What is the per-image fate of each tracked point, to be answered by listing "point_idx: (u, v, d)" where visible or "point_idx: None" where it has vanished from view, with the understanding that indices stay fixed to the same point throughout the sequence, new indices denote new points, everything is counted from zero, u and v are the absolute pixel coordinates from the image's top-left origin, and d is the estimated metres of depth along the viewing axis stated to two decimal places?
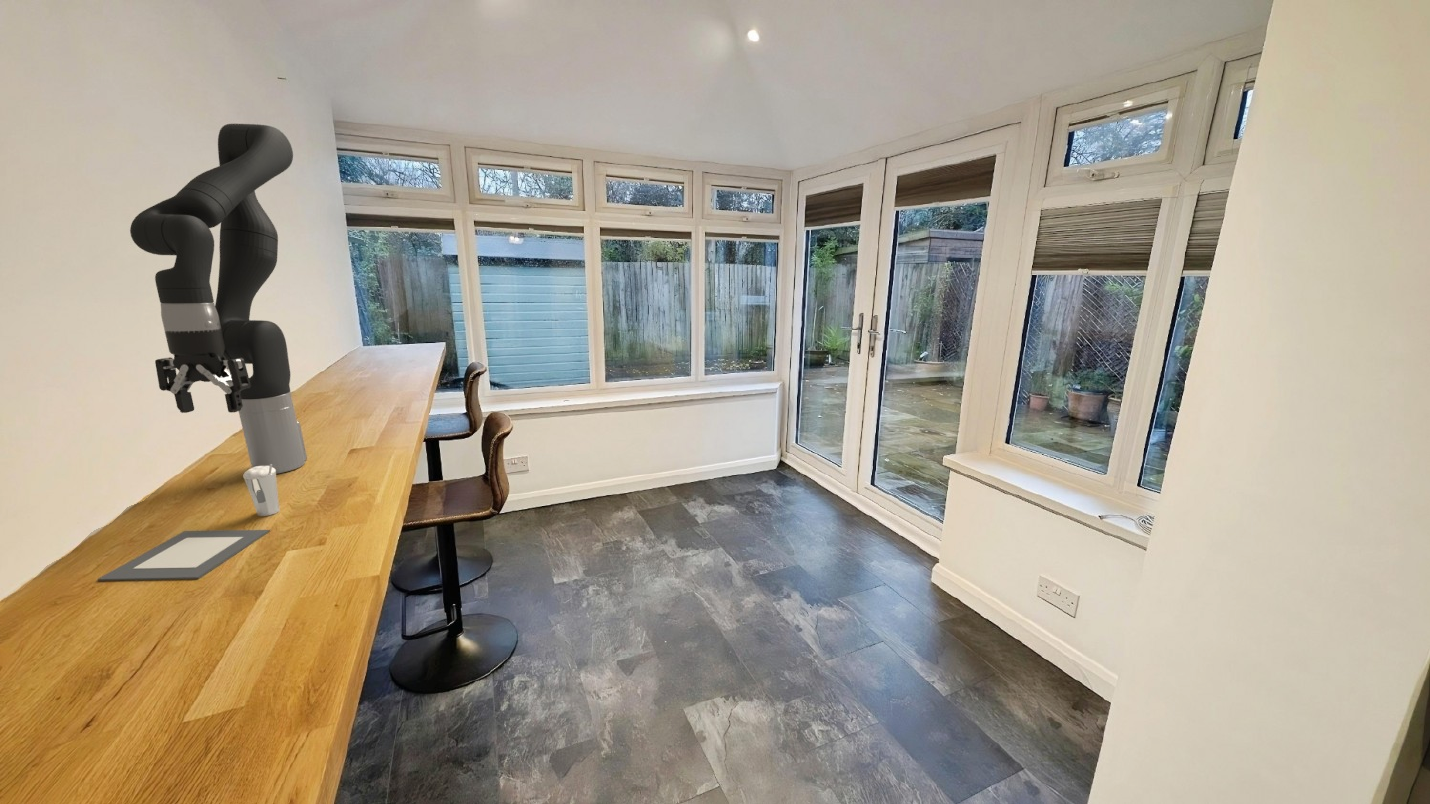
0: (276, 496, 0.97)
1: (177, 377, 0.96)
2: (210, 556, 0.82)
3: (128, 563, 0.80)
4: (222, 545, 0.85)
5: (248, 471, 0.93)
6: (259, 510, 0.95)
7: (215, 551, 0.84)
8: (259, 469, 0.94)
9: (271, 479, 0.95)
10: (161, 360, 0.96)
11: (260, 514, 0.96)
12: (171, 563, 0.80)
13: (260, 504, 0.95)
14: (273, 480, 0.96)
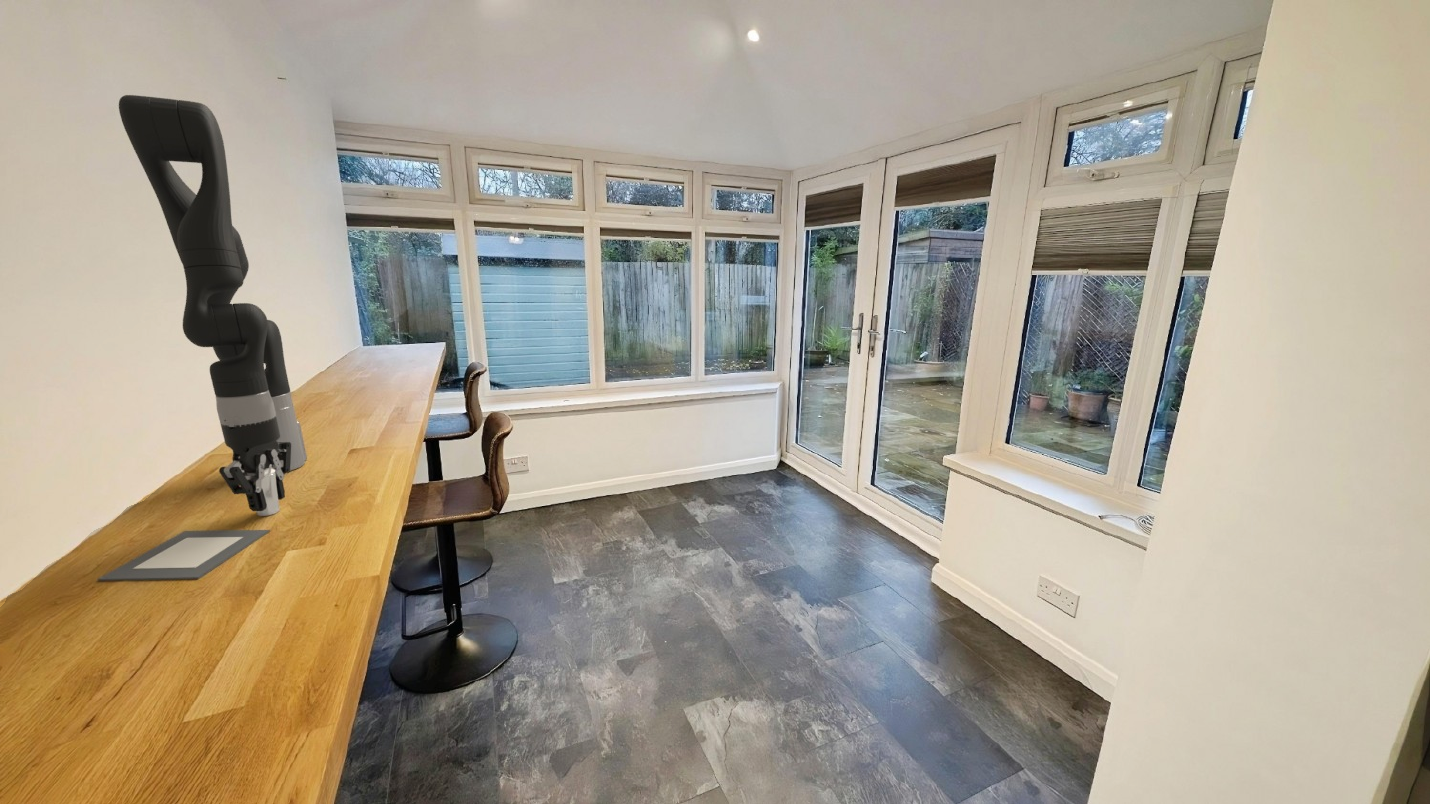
0: (276, 496, 0.97)
1: (260, 472, 0.93)
2: (210, 556, 0.82)
3: (128, 563, 0.80)
4: (222, 545, 0.85)
5: None
6: None
7: (215, 551, 0.84)
8: None
9: (271, 479, 0.95)
10: (236, 467, 0.88)
11: (260, 514, 0.96)
12: (171, 563, 0.80)
13: None
14: (273, 480, 0.95)
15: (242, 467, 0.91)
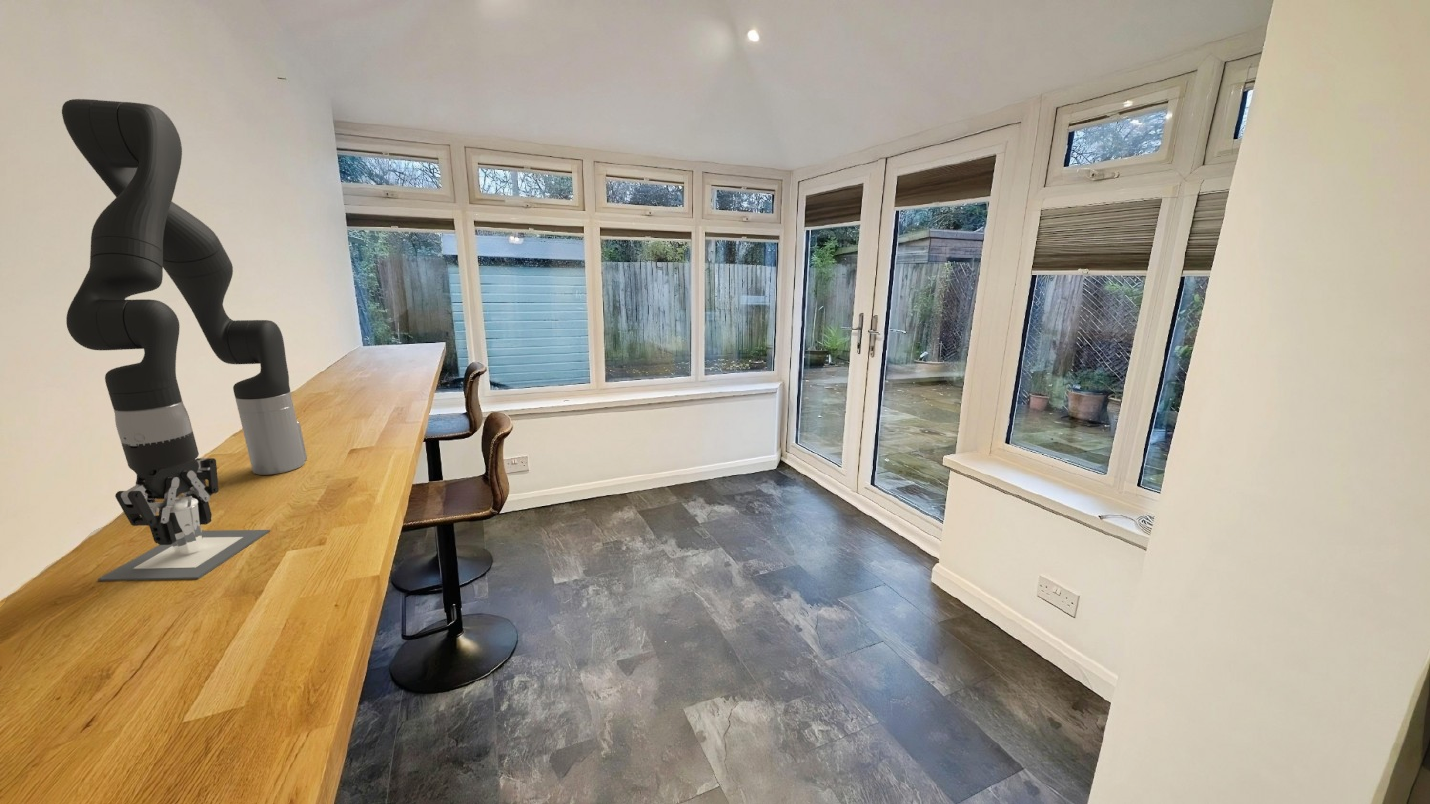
0: (199, 532, 0.83)
1: (169, 498, 0.78)
2: (210, 556, 0.82)
3: (128, 563, 0.80)
4: (222, 545, 0.85)
5: None
6: (177, 548, 0.82)
7: (215, 551, 0.84)
8: (176, 501, 0.81)
9: (191, 513, 0.82)
10: (137, 491, 0.74)
11: (179, 553, 0.82)
12: (171, 563, 0.80)
13: (179, 541, 0.82)
14: (194, 513, 0.82)
15: (148, 492, 0.77)
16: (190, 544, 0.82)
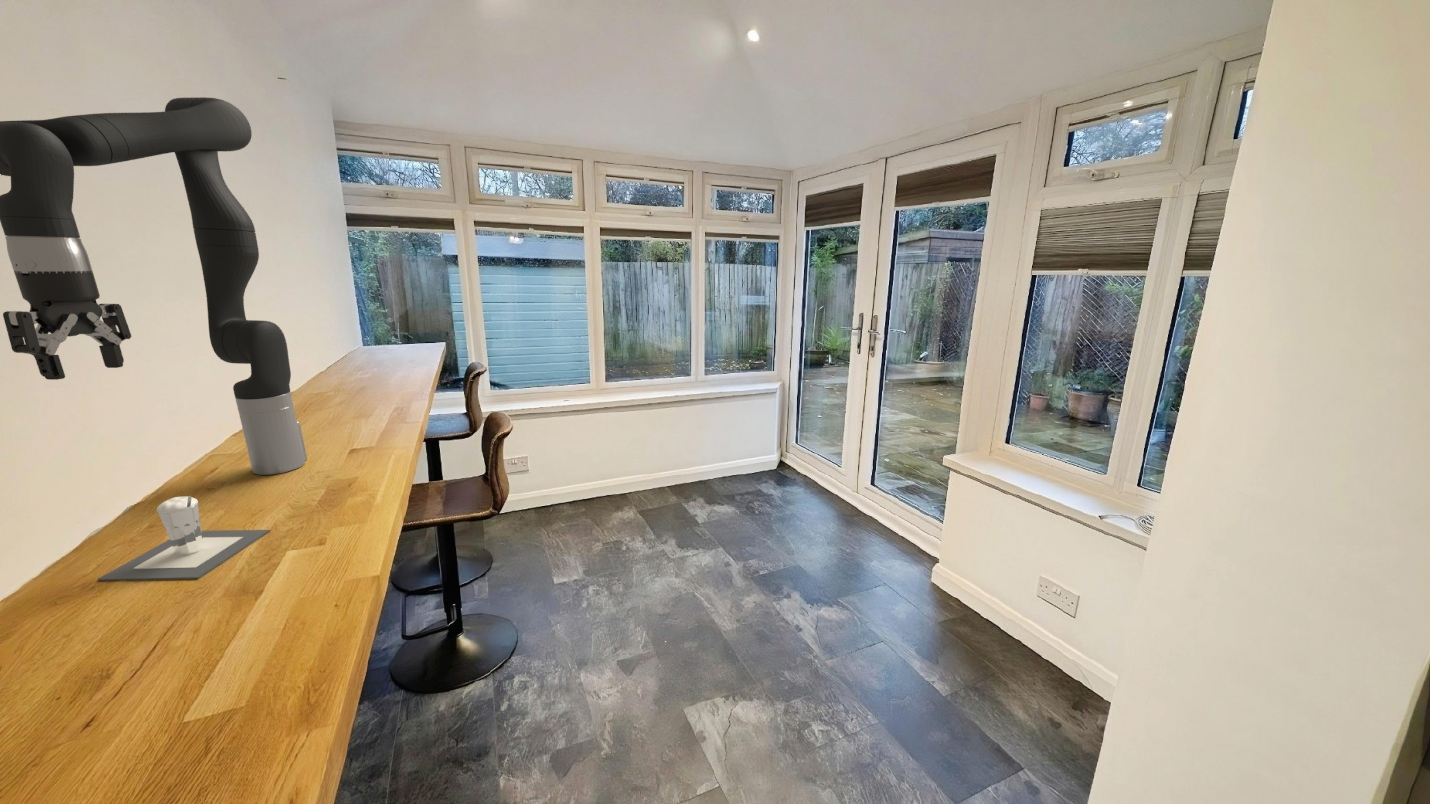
0: (198, 532, 0.83)
1: (61, 331, 0.78)
2: (210, 556, 0.82)
3: (128, 563, 0.80)
4: (222, 545, 0.85)
5: (163, 504, 0.80)
6: (177, 548, 0.82)
7: (215, 551, 0.84)
8: (176, 501, 0.81)
9: (191, 513, 0.82)
10: None
11: (179, 553, 0.82)
12: (171, 563, 0.80)
13: (179, 541, 0.82)
14: (194, 513, 0.82)
15: (41, 321, 0.77)
16: (190, 544, 0.82)
